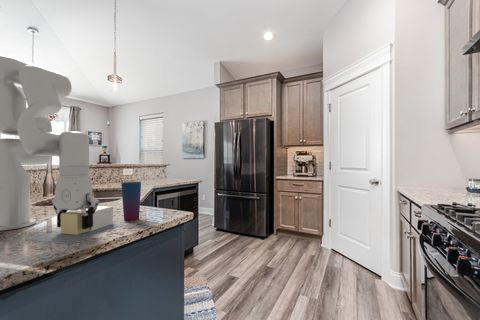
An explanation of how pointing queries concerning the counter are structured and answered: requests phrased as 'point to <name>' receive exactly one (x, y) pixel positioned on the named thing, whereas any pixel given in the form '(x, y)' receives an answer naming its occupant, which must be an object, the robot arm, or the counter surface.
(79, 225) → the stub
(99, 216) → the white rectangular box
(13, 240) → the counter surface
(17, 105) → the robot arm
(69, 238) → the board
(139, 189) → the cup
